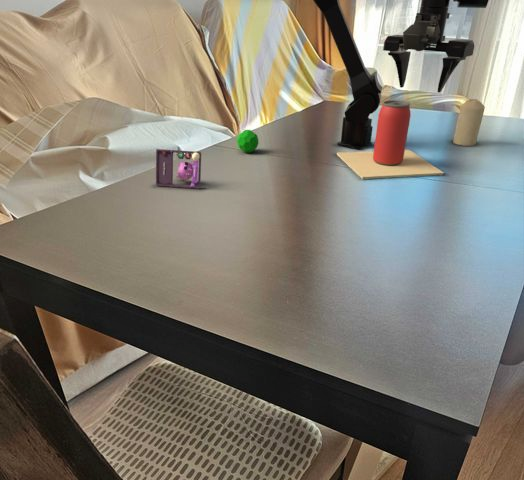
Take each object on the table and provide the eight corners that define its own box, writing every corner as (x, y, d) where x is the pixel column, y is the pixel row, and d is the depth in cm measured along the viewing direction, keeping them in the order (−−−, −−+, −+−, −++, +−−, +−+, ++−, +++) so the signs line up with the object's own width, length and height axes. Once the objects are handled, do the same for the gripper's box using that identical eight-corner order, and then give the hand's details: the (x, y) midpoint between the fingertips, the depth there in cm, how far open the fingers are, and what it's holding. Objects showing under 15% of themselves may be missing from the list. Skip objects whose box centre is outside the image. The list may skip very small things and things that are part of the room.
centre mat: (336, 154, 118) (336, 152, 118) (408, 151, 121) (409, 149, 121) (362, 179, 104) (362, 176, 104) (443, 175, 107) (444, 172, 107)
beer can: (402, 158, 115) (411, 100, 107) (402, 167, 109) (413, 106, 102) (372, 156, 116) (380, 99, 108) (372, 165, 110) (380, 105, 103)
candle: (477, 146, 125) (488, 102, 119) (454, 145, 126) (463, 101, 120) (474, 141, 129) (484, 98, 123) (451, 139, 130) (461, 97, 124)
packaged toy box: (154, 148, 97) (199, 151, 96) (164, 151, 102) (207, 153, 101) (154, 185, 99) (198, 188, 98) (164, 185, 104) (206, 189, 103)
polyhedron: (235, 149, 121) (234, 128, 118) (254, 148, 122) (254, 127, 120) (240, 155, 117) (240, 133, 115) (260, 153, 119) (261, 132, 116)
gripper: (375, 6, 106) (366, 89, 115) (462, 10, 96) (444, 100, 105) (400, 5, 113) (389, 83, 122) (483, 8, 103) (465, 93, 112)
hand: (420, 89), depth 115 cm, fingers open, 9 cm apart
